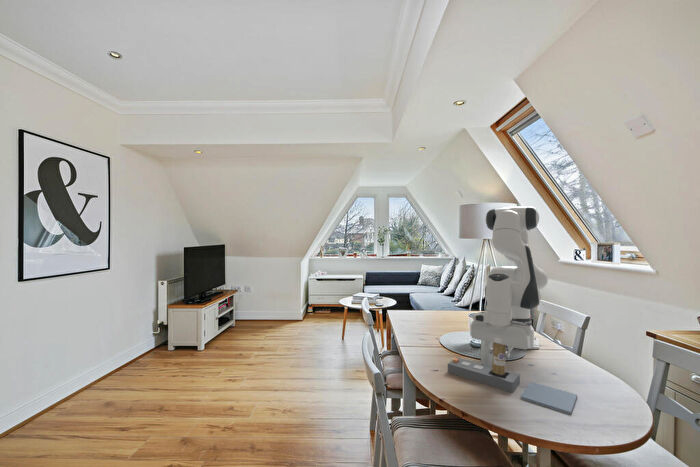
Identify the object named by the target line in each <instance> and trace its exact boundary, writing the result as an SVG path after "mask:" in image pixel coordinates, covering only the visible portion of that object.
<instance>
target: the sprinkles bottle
mask: <svg viewBox="0 0 700 467" xmlns="http://www.w3.org/2000/svg"><path fill="white" fill-rule="evenodd" d="M494 342H495V343H493V352H492V372H493V373H495V374H499V375H503V374H505V370H506V357H504V355H505V354H504V352H505V351H506V345H502V340H501V339H500V338H494Z"/></svg>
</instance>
